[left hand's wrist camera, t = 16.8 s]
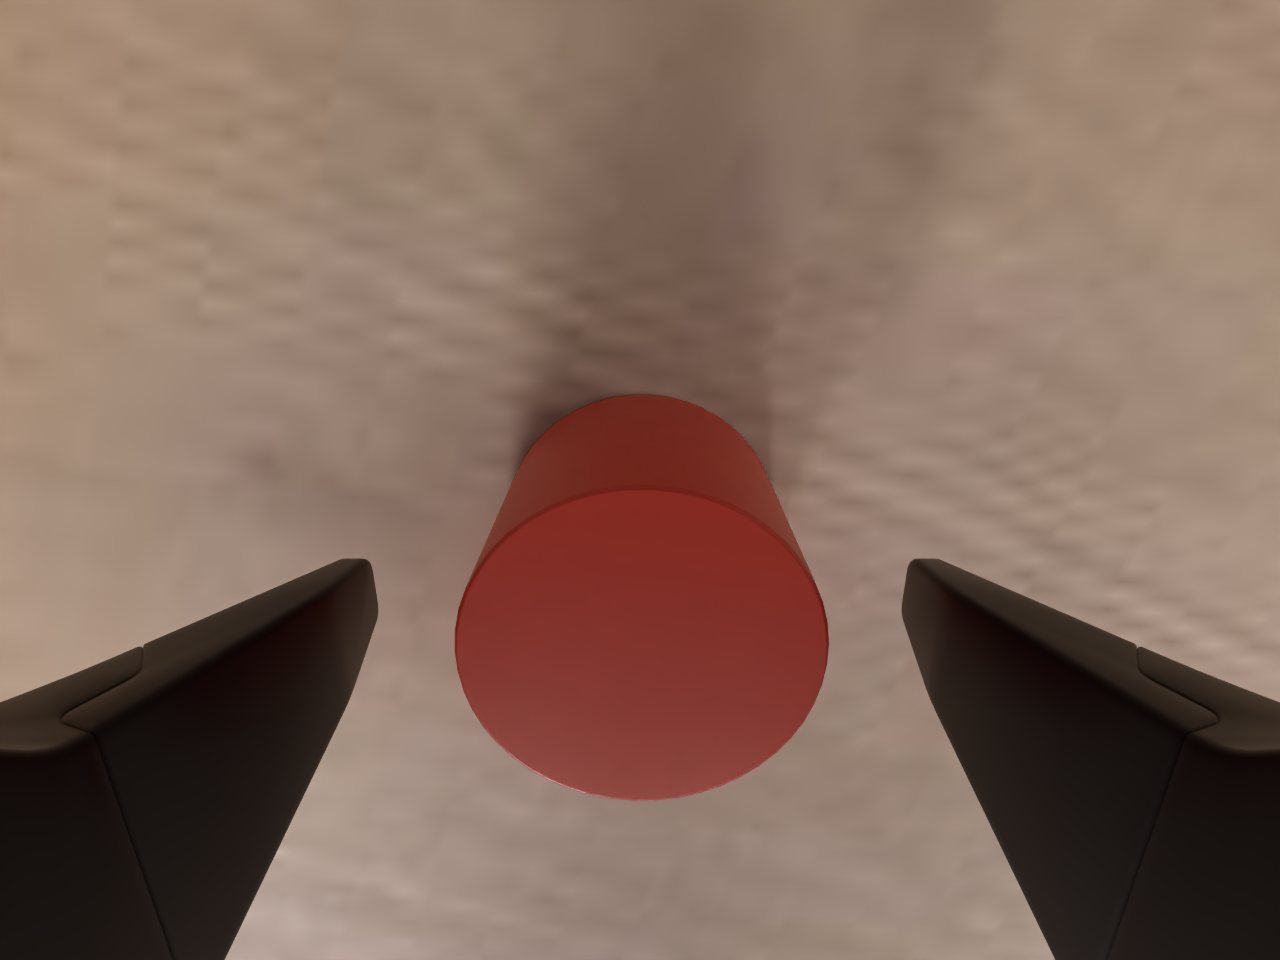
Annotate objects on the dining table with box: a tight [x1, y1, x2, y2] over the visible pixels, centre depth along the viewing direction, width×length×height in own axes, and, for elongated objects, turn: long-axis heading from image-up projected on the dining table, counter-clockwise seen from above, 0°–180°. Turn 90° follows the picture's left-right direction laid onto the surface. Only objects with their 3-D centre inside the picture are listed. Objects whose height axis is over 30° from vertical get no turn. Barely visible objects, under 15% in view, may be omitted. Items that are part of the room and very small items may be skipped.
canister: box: [455, 395, 829, 800], centre depth 11 cm, size 5×5×4 cm
